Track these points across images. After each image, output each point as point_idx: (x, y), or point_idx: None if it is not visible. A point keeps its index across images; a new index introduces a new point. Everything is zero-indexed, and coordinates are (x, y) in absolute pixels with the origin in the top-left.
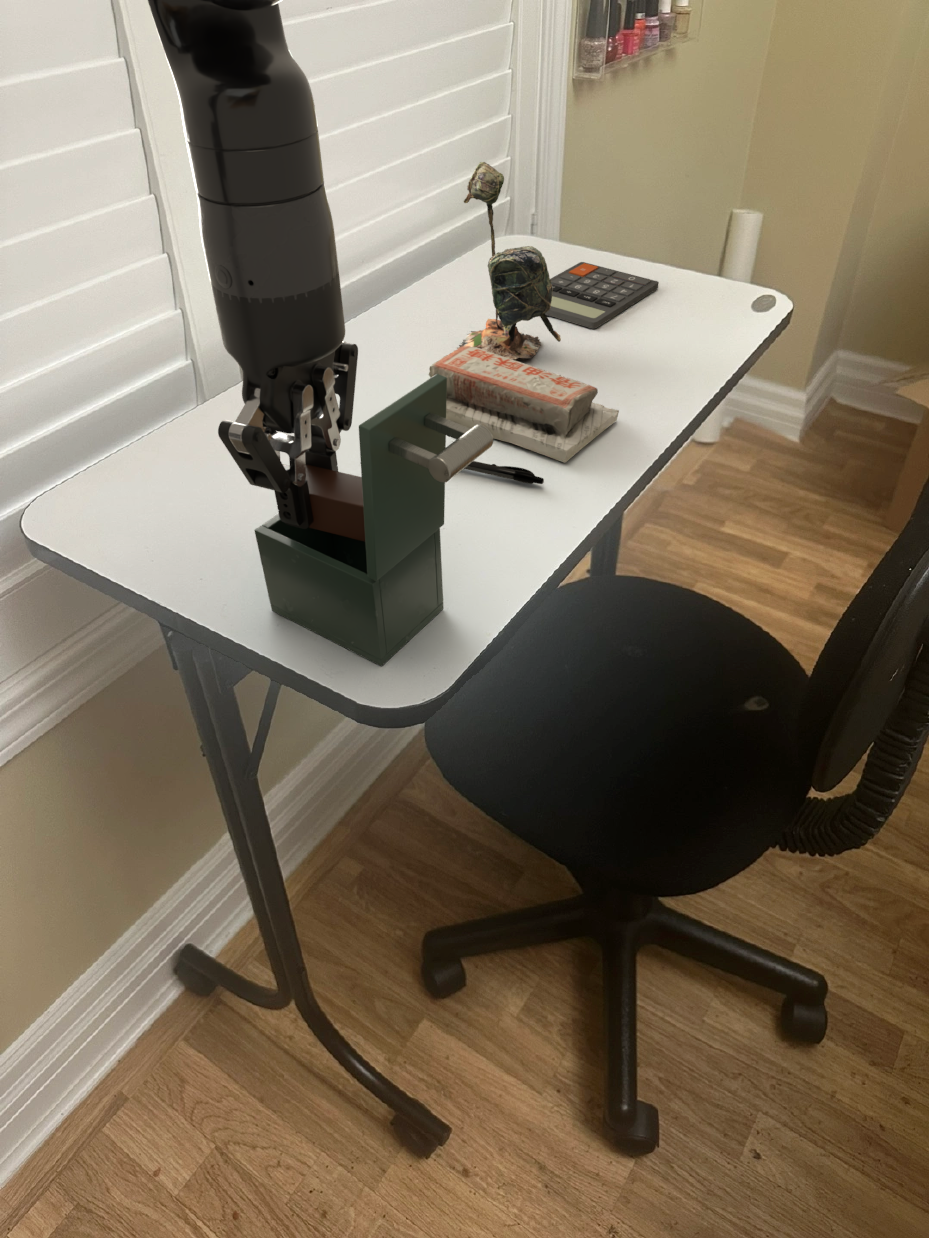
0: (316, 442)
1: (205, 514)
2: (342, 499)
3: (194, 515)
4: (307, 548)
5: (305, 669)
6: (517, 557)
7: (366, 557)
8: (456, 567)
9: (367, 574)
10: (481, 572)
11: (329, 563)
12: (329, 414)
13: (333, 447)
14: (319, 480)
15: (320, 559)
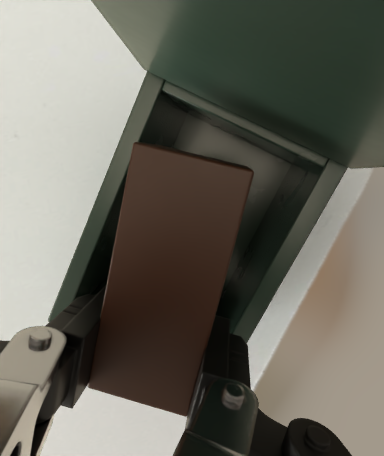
0: (55, 392)
1: (59, 437)
2: (220, 267)
3: (63, 449)
4: (253, 304)
5: (319, 251)
6: (54, 10)
7: (372, 167)
8: (94, 99)
9: (353, 168)
10: (97, 59)
11: (295, 255)
12: (12, 429)
13: (60, 341)
14: (148, 338)
15: (283, 274)
